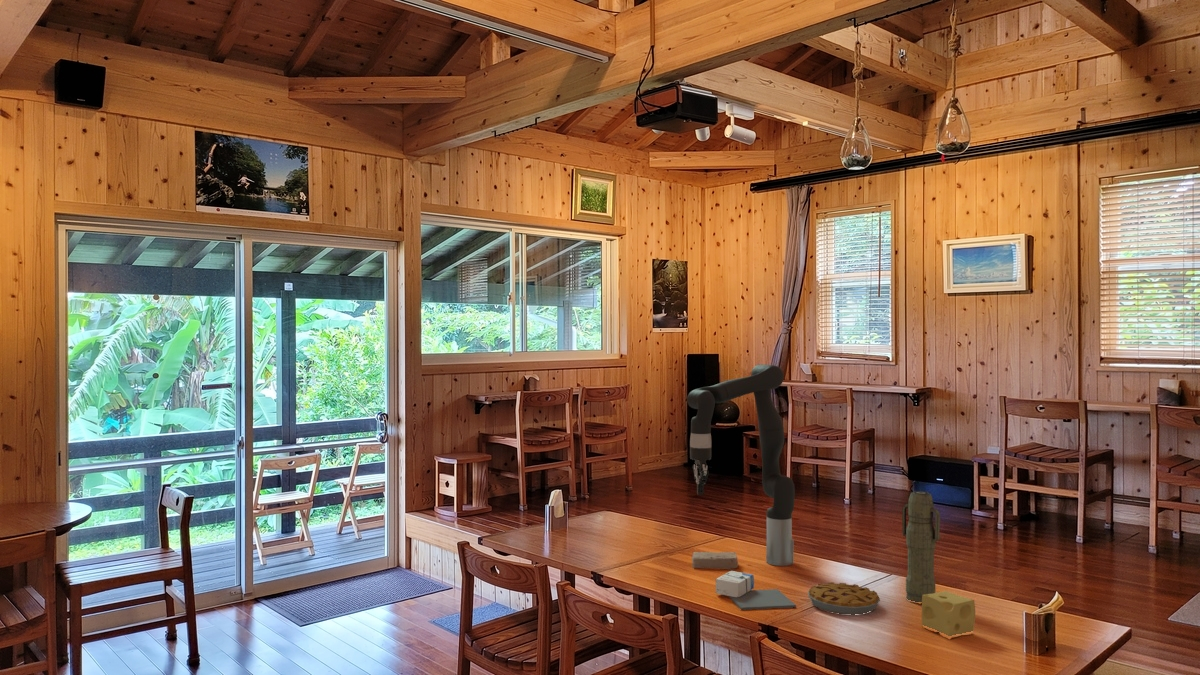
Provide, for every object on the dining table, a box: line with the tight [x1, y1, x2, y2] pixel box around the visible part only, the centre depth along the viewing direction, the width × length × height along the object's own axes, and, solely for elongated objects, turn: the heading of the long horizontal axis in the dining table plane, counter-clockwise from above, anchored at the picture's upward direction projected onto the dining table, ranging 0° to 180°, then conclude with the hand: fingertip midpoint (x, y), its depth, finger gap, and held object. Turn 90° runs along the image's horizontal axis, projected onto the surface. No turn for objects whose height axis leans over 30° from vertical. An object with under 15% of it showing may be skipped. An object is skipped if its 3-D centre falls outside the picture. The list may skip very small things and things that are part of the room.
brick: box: [691, 551, 739, 570], centre depth 293 cm, size 17×8×5 cm, turn 85°
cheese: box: [921, 590, 976, 636], centre depth 228 cm, size 10×11×10 cm
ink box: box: [715, 570, 755, 598], centre depth 260 cm, size 9×5×12 cm
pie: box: [807, 582, 881, 616], centre depth 250 cm, size 22×22×5 cm
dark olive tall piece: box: [901, 490, 941, 602], centre depth 255 cm, size 9×12×35 cm
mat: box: [727, 588, 797, 611], centre depth 254 cm, size 18×16×1 cm
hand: (700, 494), depth 280 cm, fingers closed
